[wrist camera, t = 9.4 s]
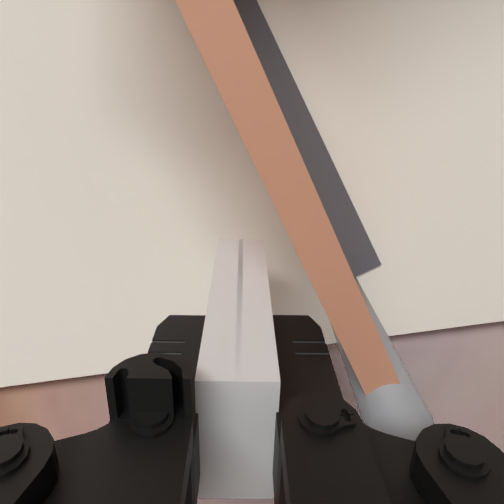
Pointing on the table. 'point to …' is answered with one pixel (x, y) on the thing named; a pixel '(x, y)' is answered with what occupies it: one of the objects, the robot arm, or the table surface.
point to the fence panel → (306, 220)
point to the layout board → (241, 168)
